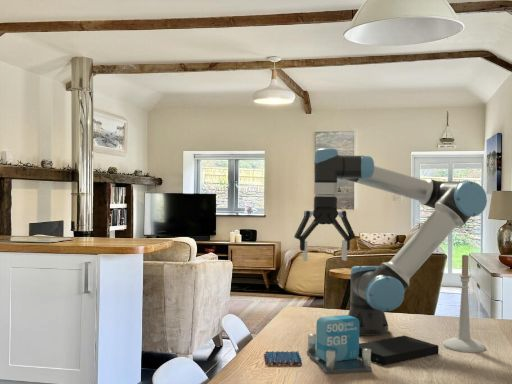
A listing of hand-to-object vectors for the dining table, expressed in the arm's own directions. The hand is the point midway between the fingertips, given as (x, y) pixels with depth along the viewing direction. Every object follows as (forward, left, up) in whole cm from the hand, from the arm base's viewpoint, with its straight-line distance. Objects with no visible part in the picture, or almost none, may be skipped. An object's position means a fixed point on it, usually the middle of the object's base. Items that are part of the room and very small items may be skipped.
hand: (324, 260), depth 188 cm
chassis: (+3, +22, -27) cm, 35 cm away
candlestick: (-43, +13, -27) cm, 52 cm away
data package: (+3, +22, -26) cm, 34 cm away
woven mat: (+19, +18, -28) cm, 38 cm away
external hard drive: (-17, +17, -27) cm, 36 cm away
